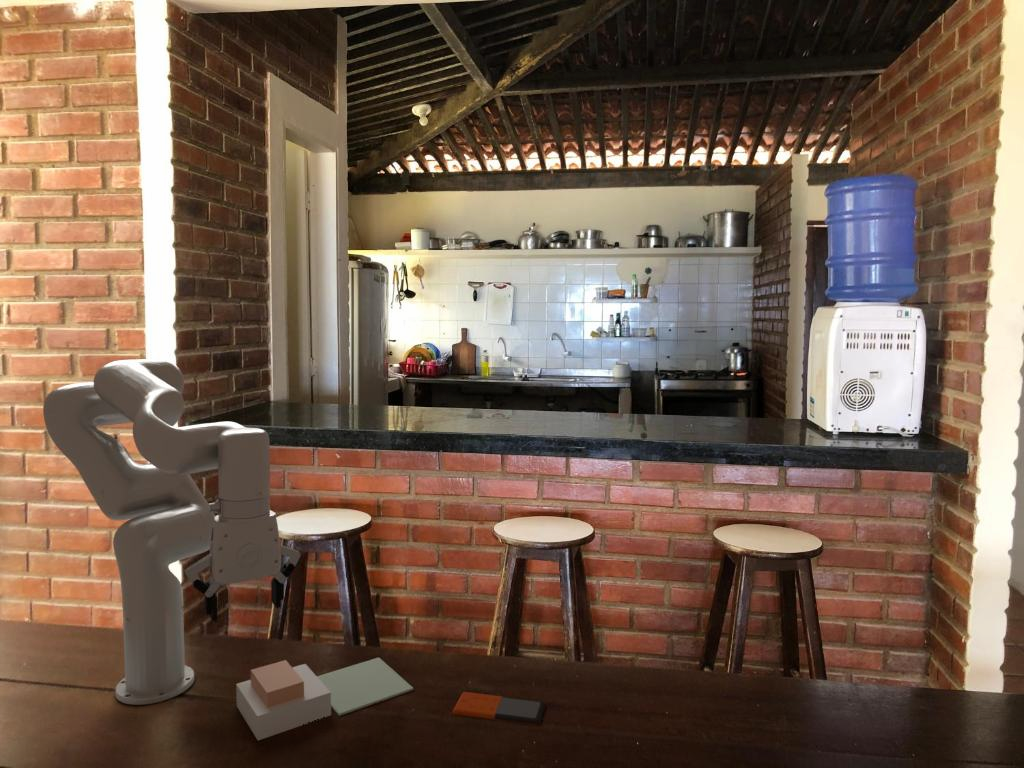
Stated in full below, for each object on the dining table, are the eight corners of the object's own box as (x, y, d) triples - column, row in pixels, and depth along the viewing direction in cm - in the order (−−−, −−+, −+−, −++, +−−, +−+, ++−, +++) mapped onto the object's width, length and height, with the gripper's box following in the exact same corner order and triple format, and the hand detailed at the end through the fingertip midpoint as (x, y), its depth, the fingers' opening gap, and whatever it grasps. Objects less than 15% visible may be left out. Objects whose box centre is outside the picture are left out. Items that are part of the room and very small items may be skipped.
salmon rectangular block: (250, 684, 116) (250, 669, 116) (286, 673, 119) (285, 659, 119) (267, 707, 109) (266, 692, 108) (304, 695, 112) (303, 681, 112)
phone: (462, 689, 121) (545, 700, 118) (462, 697, 121) (545, 707, 118) (451, 709, 114) (539, 721, 111) (451, 717, 115) (539, 728, 111)
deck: (236, 706, 116) (236, 683, 116) (305, 684, 123) (305, 663, 123) (257, 740, 107) (257, 716, 106) (331, 715, 114) (330, 692, 113)
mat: (309, 680, 125) (309, 678, 125) (378, 659, 133) (378, 657, 133) (339, 715, 114) (339, 713, 113) (413, 690, 122) (413, 687, 122)
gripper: (188, 520, 99) (190, 633, 101) (306, 505, 109) (306, 608, 110) (180, 508, 105) (182, 614, 107) (292, 494, 115) (292, 592, 116)
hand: (245, 611), depth 108 cm, fingers open, 9 cm apart
